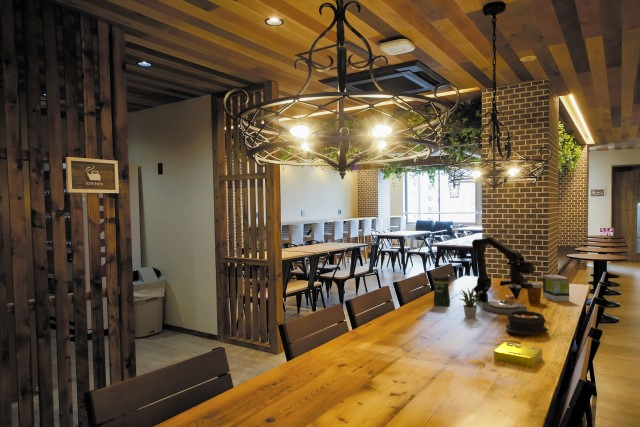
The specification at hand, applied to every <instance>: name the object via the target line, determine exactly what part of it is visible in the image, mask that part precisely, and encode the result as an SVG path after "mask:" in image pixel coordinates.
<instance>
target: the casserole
mask: <svg viewBox="0 0 640 427" xmlns="http://www.w3.org/2000/svg"><path fill="white" fill-rule="evenodd" d="M506 318H507V320H508V322H509V323H506V325H505V328H506V329H507V331H508V332H509V333H512V334H518V335H522V336H523V335H524V336H534V335H539V334H543V333H546V332H548V331H549V328H547V327H546V325H545V323H546V322H547V319H546V318H545V317H544V315H543V314H541V313H538V312H535V311H528V310H527V311H513V312H510V313H509V315H507V316H506Z"/></svg>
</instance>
